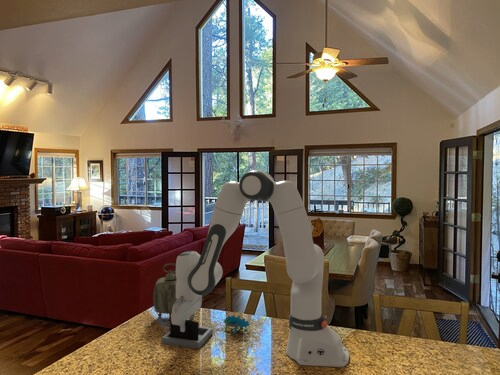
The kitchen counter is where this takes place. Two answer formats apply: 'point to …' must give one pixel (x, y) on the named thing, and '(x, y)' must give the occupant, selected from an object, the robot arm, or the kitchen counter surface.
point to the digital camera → (189, 332)
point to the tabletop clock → (165, 293)
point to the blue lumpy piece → (235, 322)
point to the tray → (202, 338)
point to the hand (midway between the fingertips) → (187, 327)
